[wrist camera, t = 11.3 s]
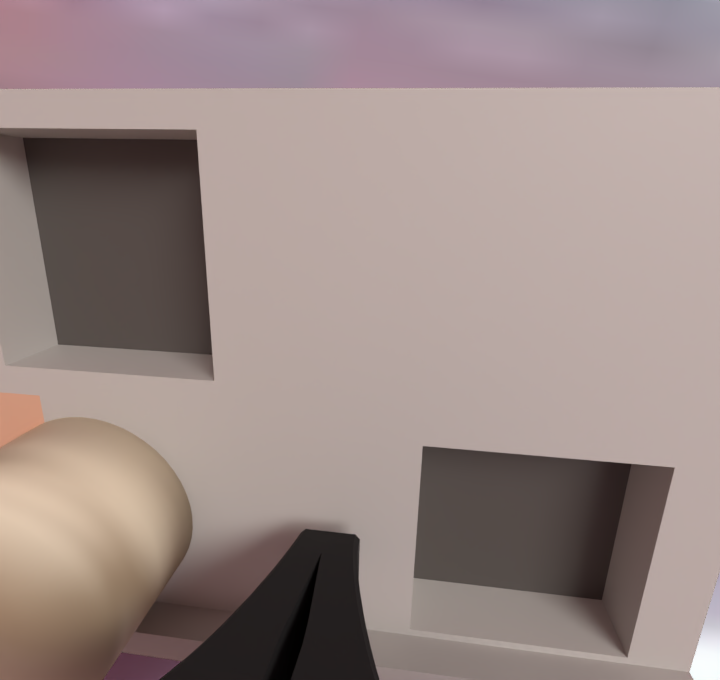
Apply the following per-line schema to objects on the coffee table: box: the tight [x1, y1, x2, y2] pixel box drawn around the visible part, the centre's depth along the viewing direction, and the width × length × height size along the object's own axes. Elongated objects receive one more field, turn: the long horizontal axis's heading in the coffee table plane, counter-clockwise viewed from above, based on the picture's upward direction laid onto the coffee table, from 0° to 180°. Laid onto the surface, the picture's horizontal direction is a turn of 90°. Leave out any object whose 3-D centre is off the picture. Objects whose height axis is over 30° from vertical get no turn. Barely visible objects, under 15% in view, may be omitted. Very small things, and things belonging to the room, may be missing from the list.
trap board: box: [0, 87, 720, 680], centre depth 12 cm, size 14×24×4 cm, turn 89°
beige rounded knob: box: [0, 417, 193, 680], centre depth 11 cm, size 5×5×4 cm
